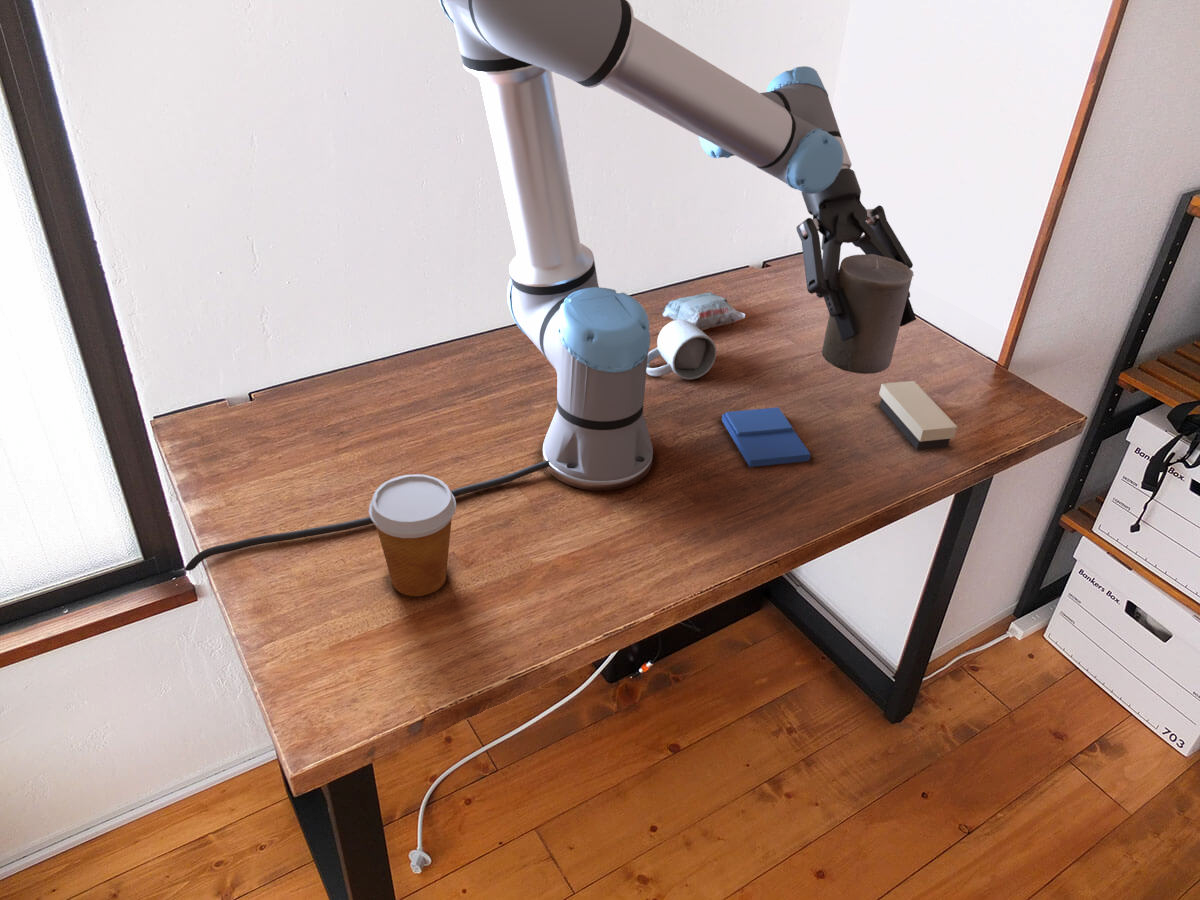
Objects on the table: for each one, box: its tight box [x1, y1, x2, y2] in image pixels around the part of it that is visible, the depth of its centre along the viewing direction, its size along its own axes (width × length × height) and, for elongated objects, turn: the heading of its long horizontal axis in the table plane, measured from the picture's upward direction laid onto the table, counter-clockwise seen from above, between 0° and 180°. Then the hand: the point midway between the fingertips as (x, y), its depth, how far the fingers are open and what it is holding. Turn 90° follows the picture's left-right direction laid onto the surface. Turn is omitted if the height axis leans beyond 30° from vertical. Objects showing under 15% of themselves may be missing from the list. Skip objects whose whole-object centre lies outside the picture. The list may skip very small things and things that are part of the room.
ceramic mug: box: [646, 319, 717, 380], centre depth 152 cm, size 11×8×8 cm
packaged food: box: [662, 291, 746, 331], centre depth 166 cm, size 9×12×5 cm
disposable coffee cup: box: [368, 473, 457, 597], centre depth 108 cm, size 10×10×12 cm
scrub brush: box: [878, 380, 958, 451], centre depth 142 cm, size 6×13×4 cm, turn 13°
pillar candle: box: [821, 253, 915, 375], centre depth 131 cm, size 10×10×15 cm
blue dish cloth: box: [721, 406, 812, 468], centre depth 138 cm, size 9×12×2 cm
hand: (879, 330), depth 130 cm, fingers closed on pillar candle, 9 cm apart
